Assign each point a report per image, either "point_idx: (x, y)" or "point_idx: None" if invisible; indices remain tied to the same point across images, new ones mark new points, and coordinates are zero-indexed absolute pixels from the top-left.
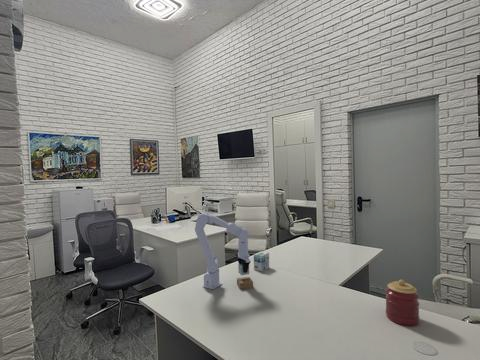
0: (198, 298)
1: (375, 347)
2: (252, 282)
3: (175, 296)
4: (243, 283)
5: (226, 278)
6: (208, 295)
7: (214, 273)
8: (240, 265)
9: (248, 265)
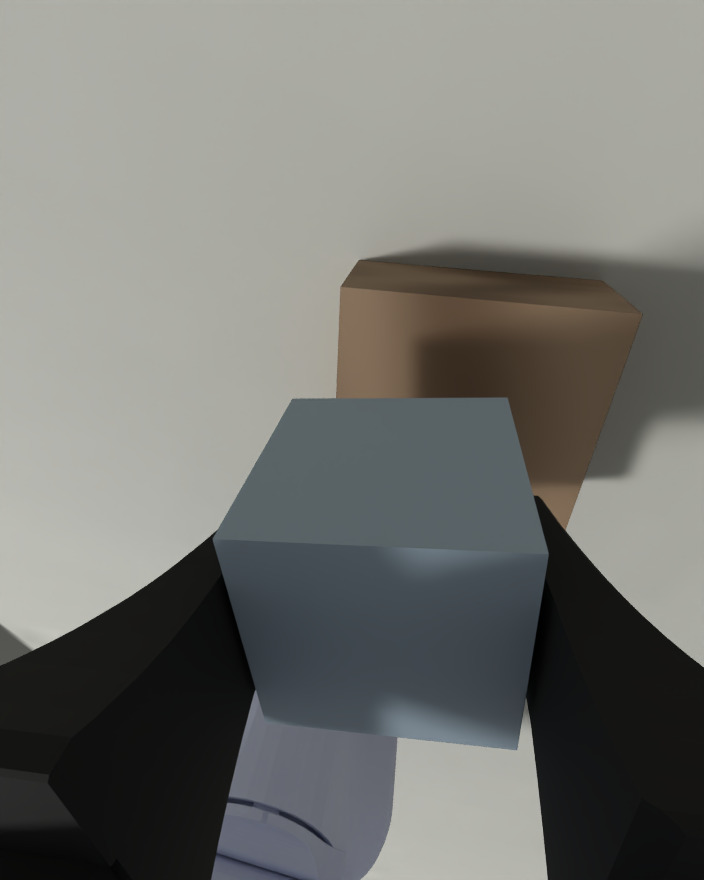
0: (529, 792)
1: None
2: (632, 322)
3: (417, 853)
4: (574, 483)
5: (133, 506)
6: None
7: (340, 844)
8: (384, 724)
9: (684, 667)
